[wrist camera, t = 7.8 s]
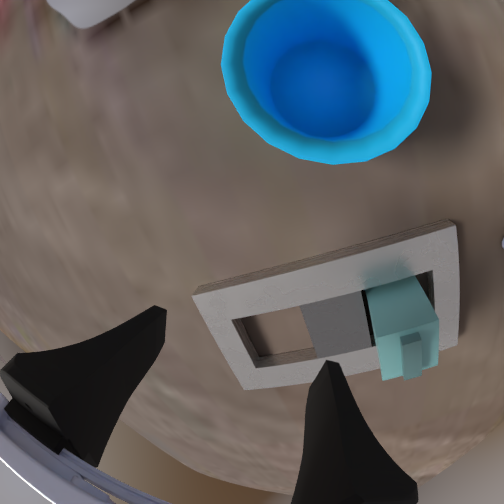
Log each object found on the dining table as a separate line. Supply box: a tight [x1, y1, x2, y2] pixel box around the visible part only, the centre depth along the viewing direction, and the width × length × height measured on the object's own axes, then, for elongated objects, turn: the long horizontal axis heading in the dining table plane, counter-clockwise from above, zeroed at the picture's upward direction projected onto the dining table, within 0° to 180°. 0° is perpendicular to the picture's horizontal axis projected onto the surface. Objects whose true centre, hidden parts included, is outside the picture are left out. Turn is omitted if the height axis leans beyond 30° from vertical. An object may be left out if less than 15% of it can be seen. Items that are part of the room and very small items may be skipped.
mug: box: [221, 0, 432, 165], centre depth 11 cm, size 12×8×8 cm
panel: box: [192, 219, 460, 390], centre depth 21 cm, size 20×11×2 cm, turn 111°
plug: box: [365, 275, 439, 380], centre depth 17 cm, size 4×4×7 cm
